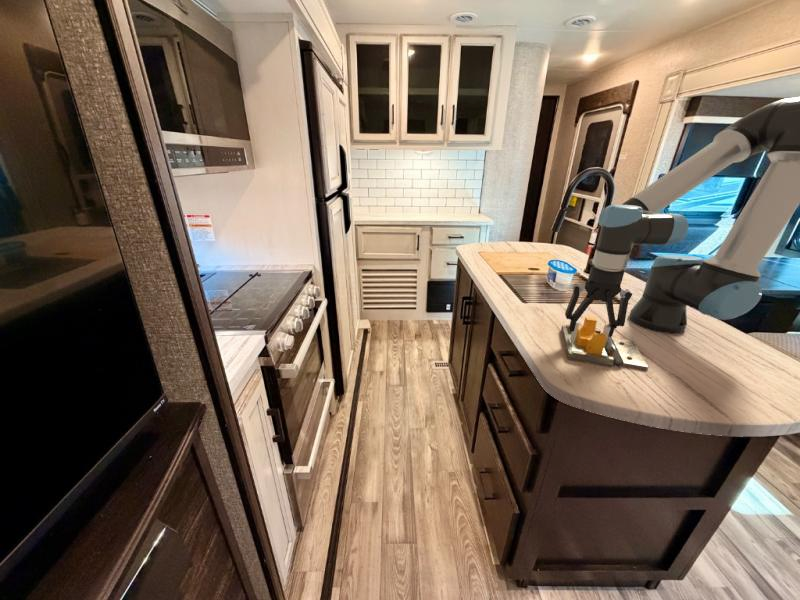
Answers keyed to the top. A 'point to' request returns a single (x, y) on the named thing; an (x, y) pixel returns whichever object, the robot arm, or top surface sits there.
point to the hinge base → (617, 348)
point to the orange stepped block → (590, 337)
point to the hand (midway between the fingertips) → (586, 342)
